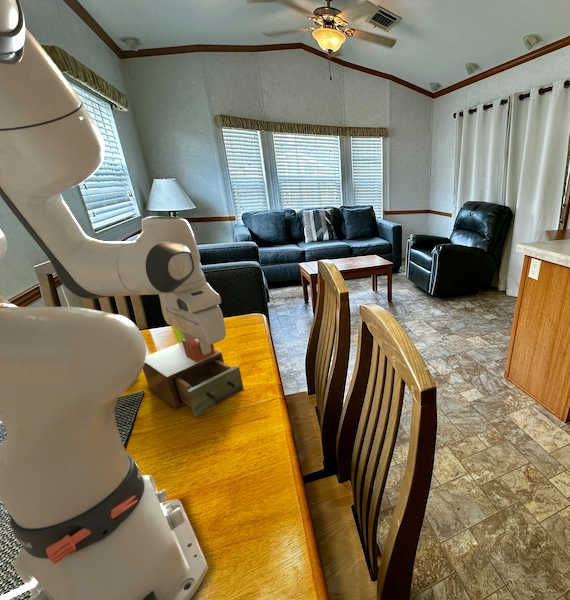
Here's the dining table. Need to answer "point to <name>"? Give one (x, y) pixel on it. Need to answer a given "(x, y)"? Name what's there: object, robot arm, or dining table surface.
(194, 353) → the block
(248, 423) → the dining table surface
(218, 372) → the drawer
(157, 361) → the cabinet
